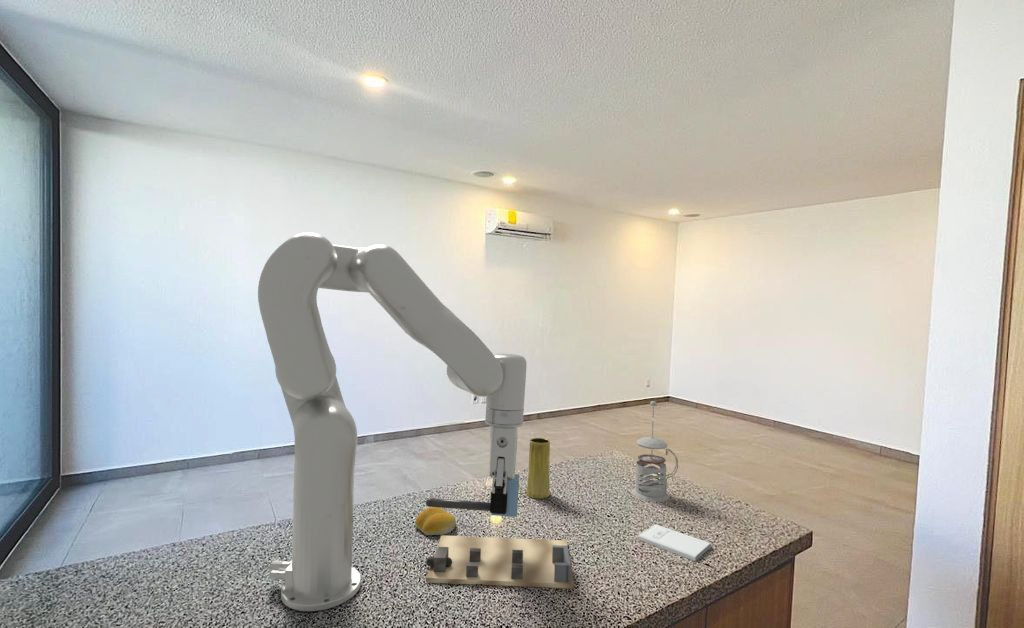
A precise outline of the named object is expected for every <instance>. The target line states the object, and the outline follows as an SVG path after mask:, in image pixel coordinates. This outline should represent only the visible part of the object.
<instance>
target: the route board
mask: <svg viewBox="0 0 1024 628" xmlns="http://www.w3.org/2000/svg"><path fill="white" fill-rule="evenodd" d="M553 545H560V546H567V547H568V544H567V539H566V540H561V539H544V538H543V539H540V538H515V537H514V538H513V537H495V536H494V537H492V536H491V537H489V536H468V535H465V536H463V535H462V536H461V535H440V539H439V542H438V544H437V546H436V549H435V552H434V555H433V556H429V557H427V558H426V561H425V565H426V566H428V567H429V569H428V571H427V574H426V578H425V582H426V583H428V584H429V583H430V584H431V583H435V584H454V585H476V584H482V585H481V586H483V585H484V586H502V587H505V586H506V587H527V588H548V589H549V588H551V589H552V588H553V589H575V581H574V576H573V571H572V569H571V578H570V582H554V566H555V563H552V546H553Z"/></svg>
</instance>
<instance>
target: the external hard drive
mask: <svg viewBox="0 0 1024 628" xmlns="http://www.w3.org/2000/svg"><path fill="white" fill-rule="evenodd" d="M637 538H638V541H641V542H643V543H646V544H649V545H652V546H653V547H656V548H660V549H661V550H664V551H667V552H670V553H673V554H675V555H677V556H680V557H682V558H686V559H688V560H690V561H692V562H697V561H698V560H699V559H701V558H702V556H703V555H705V554H706V552H708V551H709V550H710V549H711V548H712V543H711V542H709V541H705V540H702V539H699V538H696V537H694V536H690V535H688V534H685V533H682V532H679V531H676V530H673V529H671V528H667V527H664V526H662V525H659V524H653V525H651V526H650V527H648V528H647V529H646V530H644V531H642V532H640V534H638V536H637Z"/></svg>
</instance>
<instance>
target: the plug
mask: <svg viewBox="0 0 1024 628" xmlns="http://www.w3.org/2000/svg"><path fill="white" fill-rule="evenodd" d="M505 475H506V473H505V474H503V476H504V477H505ZM495 476H497V473H495ZM503 483H504V480H503ZM519 487H520V474H518V473H515V477H514V479H511V478H508V476H507V488H506V493H507V509H506V514H495V513H490V515H491V516H497V517H512V518H518V507H519V506H518V505H519ZM425 505H426V507H427V508H429V507H440V508H442V509H454V510H455V509H456V510H466V511H467V510H470V511H482V512H483V511H484V512H490V502H488V501H487V502H485V501H472V500H460V499H447V498H432V497H429V498H427V499H426V501H425Z"/></svg>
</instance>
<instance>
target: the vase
mask: <svg viewBox="0 0 1024 628" xmlns="http://www.w3.org/2000/svg"><path fill="white" fill-rule="evenodd" d="M550 444H551V442H550V440H549V439H547V438H545V437H533V438H530V439H529V454H528V455H529V457H528V474H527V483H526V485H527V488H526V495H527V496H528V497H529V498H532V499H539V500H541V499H547V498H548V497H549V496H550V495H551V491H550V488H551V487H550V454H551V452H550V451H551V450H550V446H551V445H550Z"/></svg>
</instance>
